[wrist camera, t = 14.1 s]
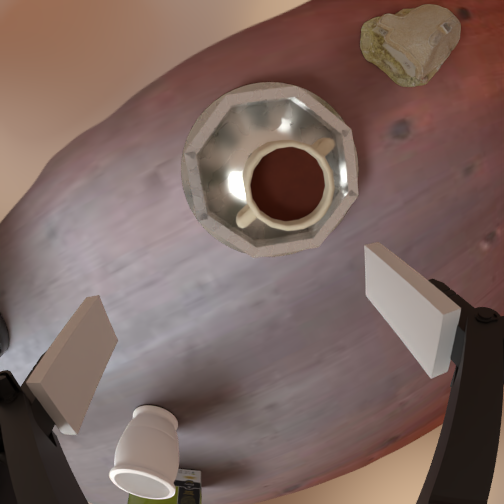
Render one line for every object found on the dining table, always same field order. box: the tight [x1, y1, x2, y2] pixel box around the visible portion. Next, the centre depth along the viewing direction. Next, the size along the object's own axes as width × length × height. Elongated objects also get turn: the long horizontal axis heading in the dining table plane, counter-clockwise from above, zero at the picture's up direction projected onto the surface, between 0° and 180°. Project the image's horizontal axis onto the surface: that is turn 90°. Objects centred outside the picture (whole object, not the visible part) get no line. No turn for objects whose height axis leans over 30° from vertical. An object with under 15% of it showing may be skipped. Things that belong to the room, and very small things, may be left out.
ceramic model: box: [360, 4, 461, 87], centre depth 26 cm, size 14×11×10 cm
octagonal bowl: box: [181, 82, 359, 258], centre depth 35 cm, size 21×21×3 cm
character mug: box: [236, 138, 335, 231], centre depth 29 cm, size 11×7×13 cm, turn 133°
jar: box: [109, 405, 179, 499], centre depth 42 cm, size 11×10×15 cm
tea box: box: [128, 469, 202, 504], centre depth 50 cm, size 15×10×15 cm
